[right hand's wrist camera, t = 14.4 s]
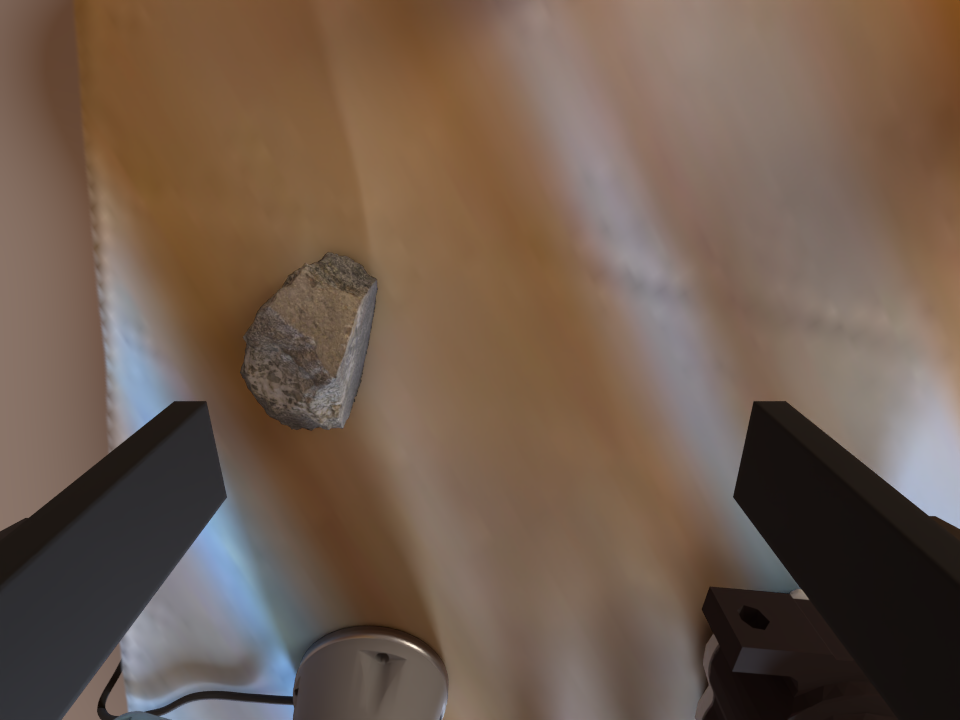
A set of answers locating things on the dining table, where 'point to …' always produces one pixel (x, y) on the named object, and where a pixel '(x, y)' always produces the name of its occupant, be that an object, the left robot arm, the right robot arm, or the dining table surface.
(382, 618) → the dining table surface
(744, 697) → the mechanical component
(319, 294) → the rock
